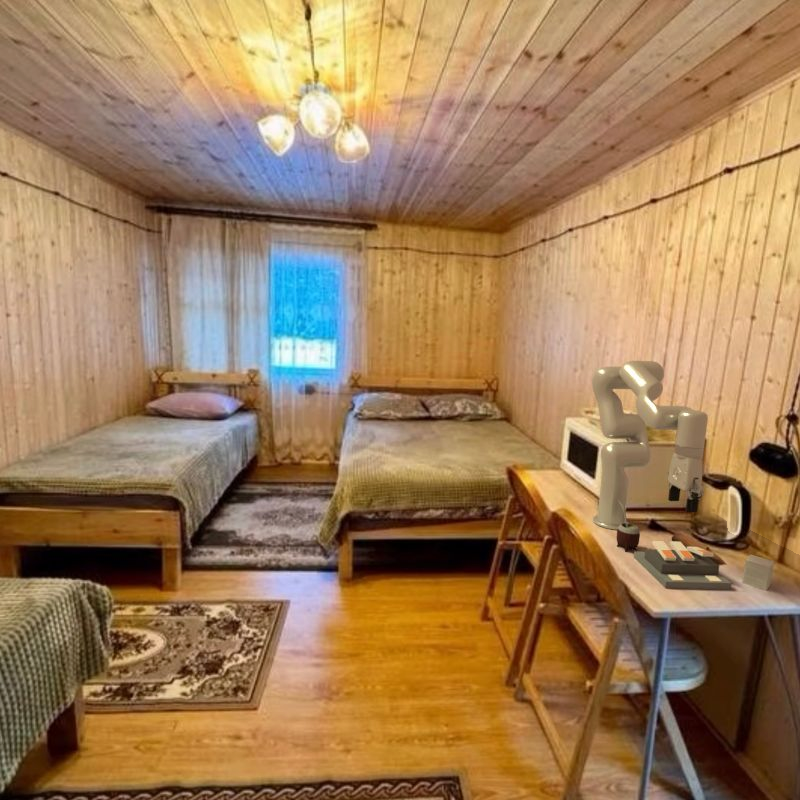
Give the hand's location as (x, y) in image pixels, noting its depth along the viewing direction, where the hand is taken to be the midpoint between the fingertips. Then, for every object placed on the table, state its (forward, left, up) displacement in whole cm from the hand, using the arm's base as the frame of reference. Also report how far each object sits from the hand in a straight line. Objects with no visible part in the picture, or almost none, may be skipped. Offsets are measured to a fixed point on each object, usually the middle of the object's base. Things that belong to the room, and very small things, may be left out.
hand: (682, 506), depth 152 cm
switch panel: (+3, 0, -20) cm, 20 cm away
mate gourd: (-14, -9, -20) cm, 26 cm away
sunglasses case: (-12, +14, -21) cm, 28 cm away
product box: (+8, +20, -20) cm, 30 cm away
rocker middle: (+3, 0, -15) cm, 15 cm away
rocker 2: (+3, +5, -15) cm, 16 cm away
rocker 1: (+3, -6, -15) cm, 16 cm away
